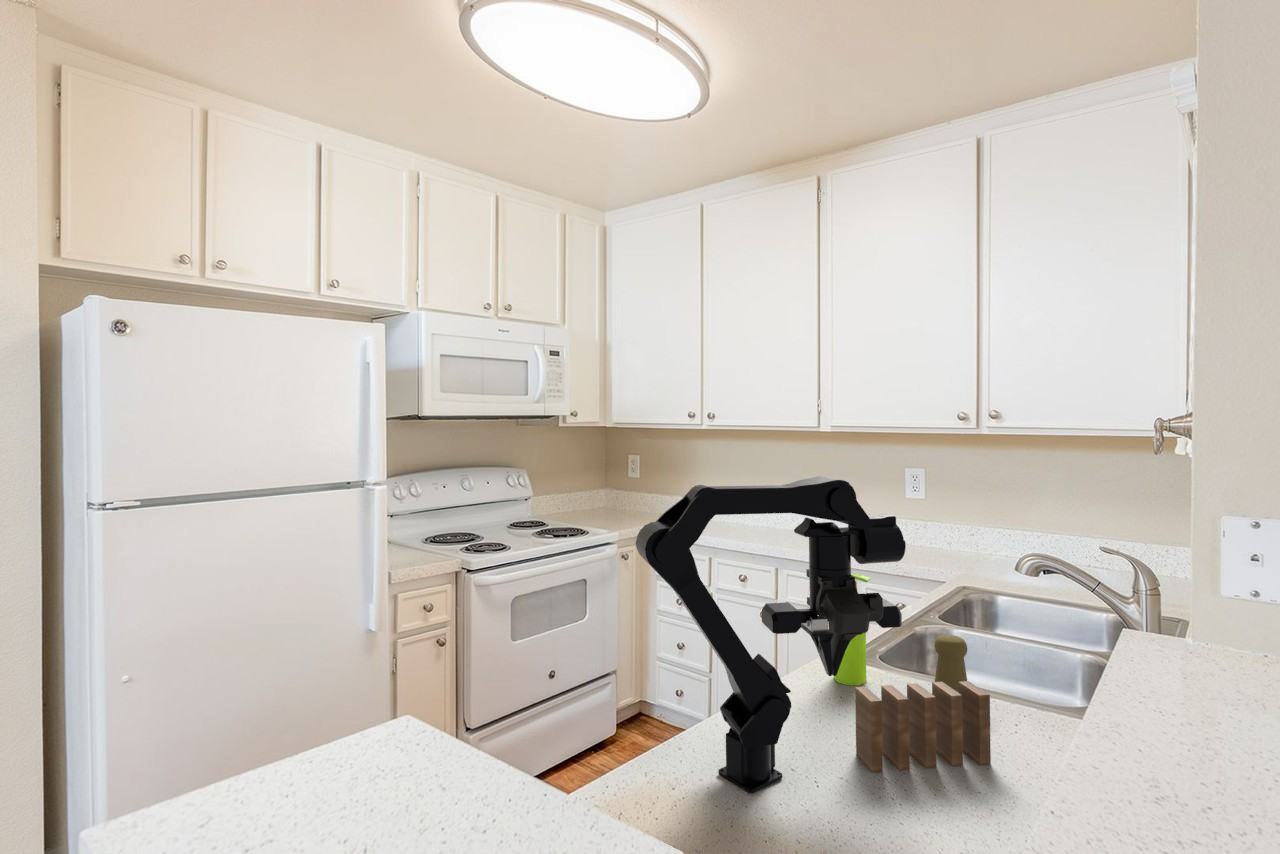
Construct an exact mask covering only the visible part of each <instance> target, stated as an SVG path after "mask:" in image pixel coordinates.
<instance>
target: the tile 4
mask: <svg viewBox="0 0 1280 854" xmlns="http://www.w3.org/2000/svg"><path fill="white" fill-rule="evenodd" d="M931 688H932V689H931V692H932V693H931V694H932V695H934V696H935V697H936V754H938V755H940V757H942V759H944V760H945V761H946V762H947V763H949V764H950V766H952V767H956V766H958V767H959V766H960V767H961V766H964V755H963V754H964V752H963V728H962V695H961V694H960V693H958V692H957V691H955V690H954V689H952V688H951V687H949V686H948V685H946V684H945V683H943V682H935V681H933V682H932V681H931Z"/></svg>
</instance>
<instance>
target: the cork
mask: <svg viewBox="0 0 1280 854" xmlns="http://www.w3.org/2000/svg"><path fill="white" fill-rule="evenodd" d="M934 649H935V652H936V653H937V661H936V669H935V678H934V682H943V683H945V684H946V685H948V686H949V687H951V688H952V689H954V690H955V691H957V692H958V693H959V684H958V682H963V681H968V677H967V676H968V675H967V669H966V663H965V657H966V656H967V654H968V644H967V642H966V641H965V639H964V638H962V637H961V636H957V635H953V634H940V635H938V636H936V639H935V640H934Z"/></svg>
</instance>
